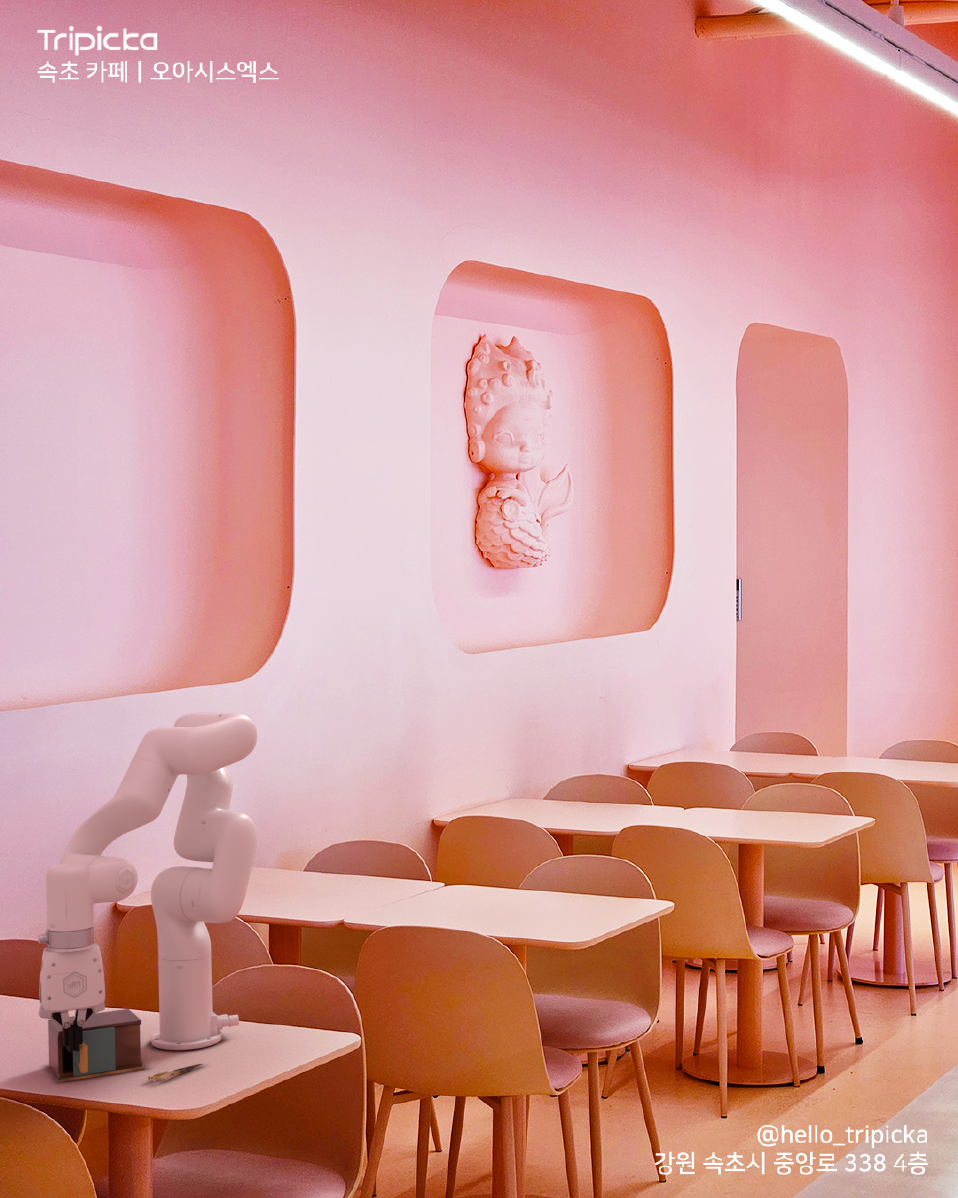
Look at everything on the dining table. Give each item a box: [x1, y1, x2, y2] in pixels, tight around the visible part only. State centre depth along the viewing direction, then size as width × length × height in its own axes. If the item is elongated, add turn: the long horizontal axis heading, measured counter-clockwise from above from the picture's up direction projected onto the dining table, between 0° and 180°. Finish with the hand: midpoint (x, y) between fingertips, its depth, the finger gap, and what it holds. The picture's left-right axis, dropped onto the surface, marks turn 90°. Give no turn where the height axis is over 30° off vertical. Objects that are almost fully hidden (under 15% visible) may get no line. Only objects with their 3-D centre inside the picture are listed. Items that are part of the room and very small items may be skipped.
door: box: [73, 1027, 116, 1077], centre depth 257 cm, size 7×4×7 cm, turn 116°
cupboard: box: [47, 1008, 146, 1083], centre depth 263 cm, size 14×11×8 cm
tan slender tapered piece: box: [147, 1063, 203, 1083], centre depth 257 cm, size 12×3×1 cm, turn 142°
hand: (72, 1049), depth 254 cm, fingers closed
